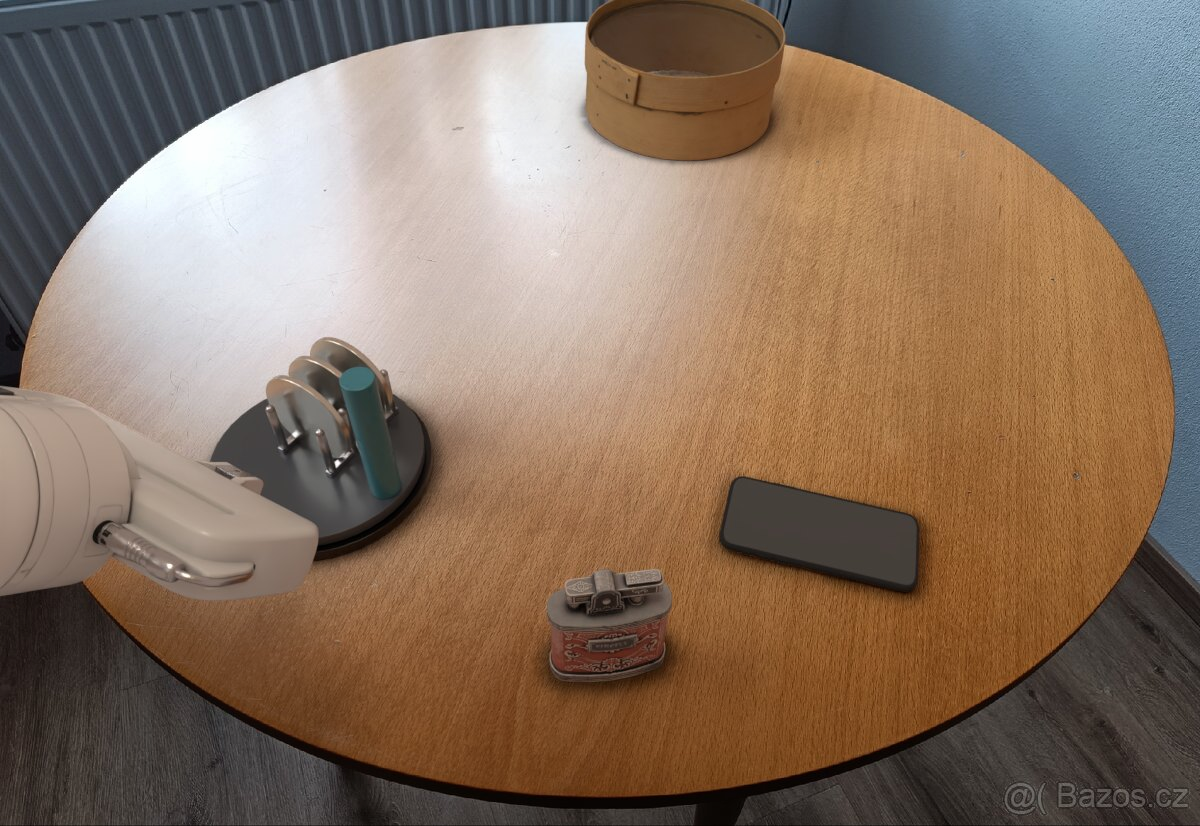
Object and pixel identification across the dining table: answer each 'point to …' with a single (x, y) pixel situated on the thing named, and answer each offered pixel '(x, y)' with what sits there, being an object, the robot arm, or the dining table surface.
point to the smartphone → (821, 533)
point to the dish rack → (330, 442)
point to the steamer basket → (682, 104)
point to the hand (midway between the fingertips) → (243, 483)
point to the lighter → (608, 625)
